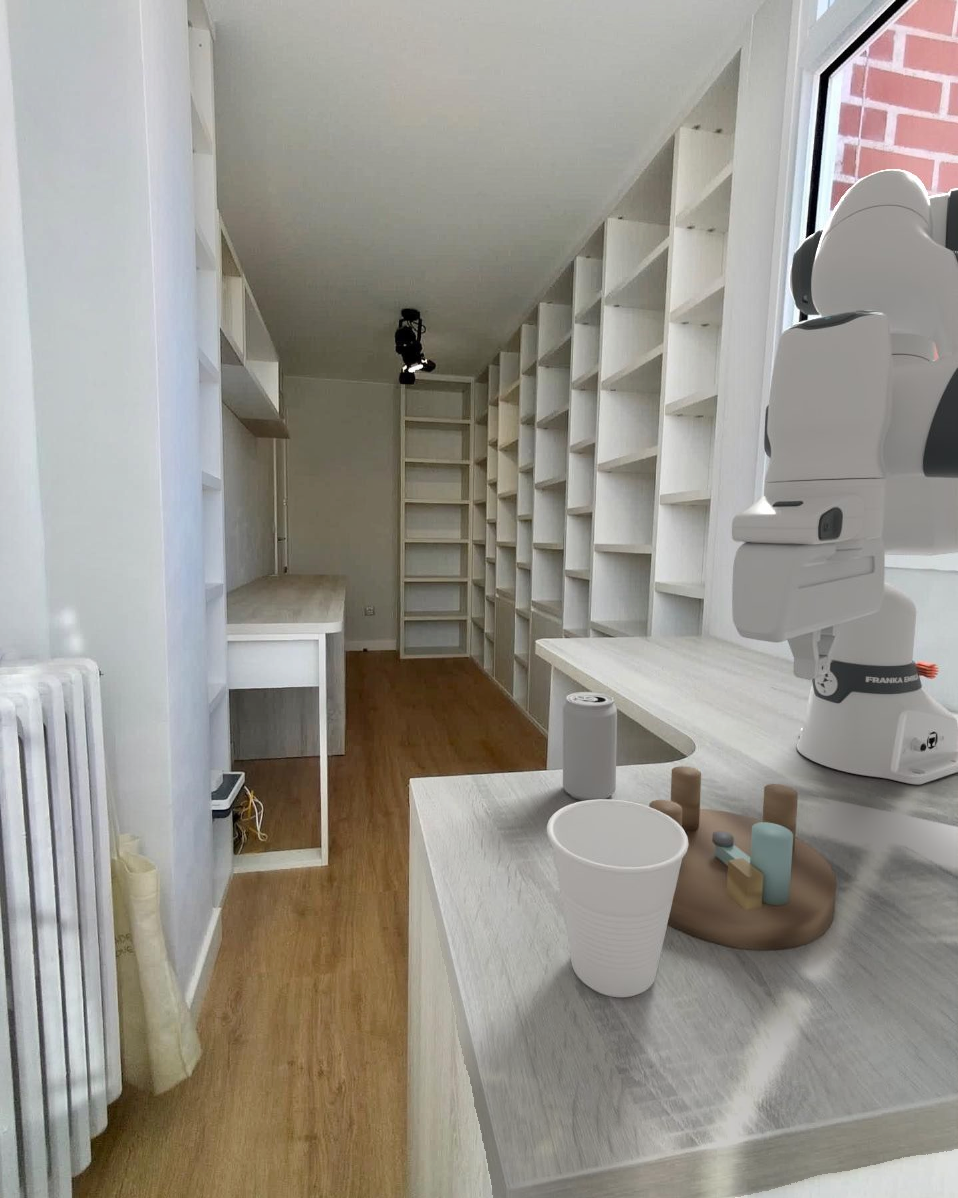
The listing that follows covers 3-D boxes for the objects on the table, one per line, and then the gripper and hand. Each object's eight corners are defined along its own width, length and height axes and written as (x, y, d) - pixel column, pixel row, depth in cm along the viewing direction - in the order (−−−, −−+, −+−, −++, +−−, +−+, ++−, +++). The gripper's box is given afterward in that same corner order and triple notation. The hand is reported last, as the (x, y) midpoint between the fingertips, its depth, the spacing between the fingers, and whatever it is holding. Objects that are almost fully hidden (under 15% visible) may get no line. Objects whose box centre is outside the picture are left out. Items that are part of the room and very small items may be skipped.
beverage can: (616, 806, 70) (618, 706, 68) (560, 802, 71) (561, 704, 70) (615, 783, 76) (616, 691, 75) (564, 779, 77) (564, 688, 76)
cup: (657, 922, 50) (661, 796, 48) (705, 1021, 40) (712, 867, 39) (538, 926, 50) (538, 800, 48) (557, 1027, 40) (558, 872, 38)
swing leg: (701, 851, 56) (704, 796, 55) (730, 847, 56) (732, 792, 56) (766, 908, 48) (769, 843, 47) (797, 901, 48) (801, 838, 48)
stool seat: (740, 821, 66) (743, 751, 65) (887, 926, 49) (895, 834, 48) (589, 844, 62) (590, 770, 61) (692, 970, 45) (696, 869, 44)
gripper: (835, 513, 59) (827, 650, 61) (719, 520, 47) (713, 690, 49) (910, 512, 54) (898, 661, 56) (802, 520, 42) (791, 710, 44)
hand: (811, 675), depth 53 cm, fingers closed
